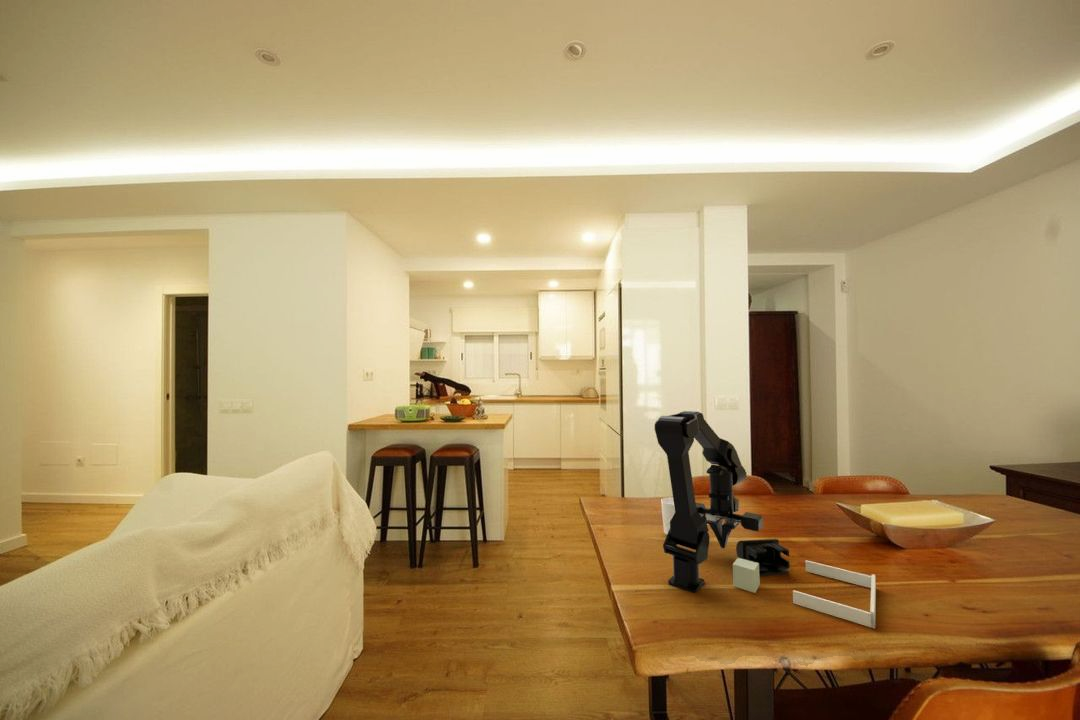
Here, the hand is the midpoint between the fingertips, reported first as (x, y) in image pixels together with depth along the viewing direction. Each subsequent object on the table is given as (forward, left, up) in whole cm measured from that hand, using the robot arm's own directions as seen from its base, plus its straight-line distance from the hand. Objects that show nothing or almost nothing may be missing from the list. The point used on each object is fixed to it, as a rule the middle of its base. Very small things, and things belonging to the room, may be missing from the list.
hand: (723, 547), depth 104 cm
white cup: (+8, +17, -3) cm, 19 cm away
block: (-12, -8, -3) cm, 15 cm away
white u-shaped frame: (-4, -24, -2) cm, 25 cm away
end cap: (0, -9, -3) cm, 10 cm away
